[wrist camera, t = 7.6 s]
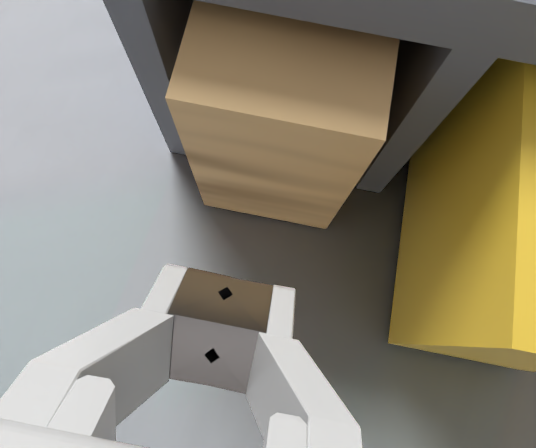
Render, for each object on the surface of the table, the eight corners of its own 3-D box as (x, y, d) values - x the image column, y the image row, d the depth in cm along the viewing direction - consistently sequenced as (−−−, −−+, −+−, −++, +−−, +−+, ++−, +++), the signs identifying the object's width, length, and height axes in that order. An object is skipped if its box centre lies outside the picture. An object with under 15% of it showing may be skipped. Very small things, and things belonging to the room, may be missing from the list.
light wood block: (326, 228, 17) (385, 140, 9) (204, 204, 17) (164, 97, 10) (354, 60, 19) (421, -126, 12) (245, 39, 19) (239, -160, 12)
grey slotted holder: (568, 230, 18) (983, 89, 8) (170, 151, 18) (65, -84, 8) (570, 48, 20) (892, -244, 10) (217, -19, 20) (182, -368, 10)
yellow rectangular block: (519, 370, 16) (766, 400, 8) (387, 343, 16) (511, 348, 8) (527, 174, 18) (731, 52, 10) (410, 151, 18) (526, 14, 10)
